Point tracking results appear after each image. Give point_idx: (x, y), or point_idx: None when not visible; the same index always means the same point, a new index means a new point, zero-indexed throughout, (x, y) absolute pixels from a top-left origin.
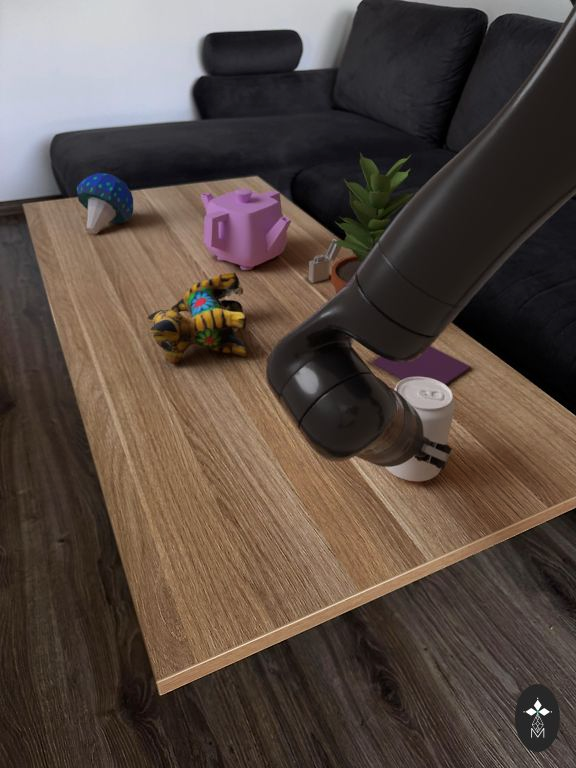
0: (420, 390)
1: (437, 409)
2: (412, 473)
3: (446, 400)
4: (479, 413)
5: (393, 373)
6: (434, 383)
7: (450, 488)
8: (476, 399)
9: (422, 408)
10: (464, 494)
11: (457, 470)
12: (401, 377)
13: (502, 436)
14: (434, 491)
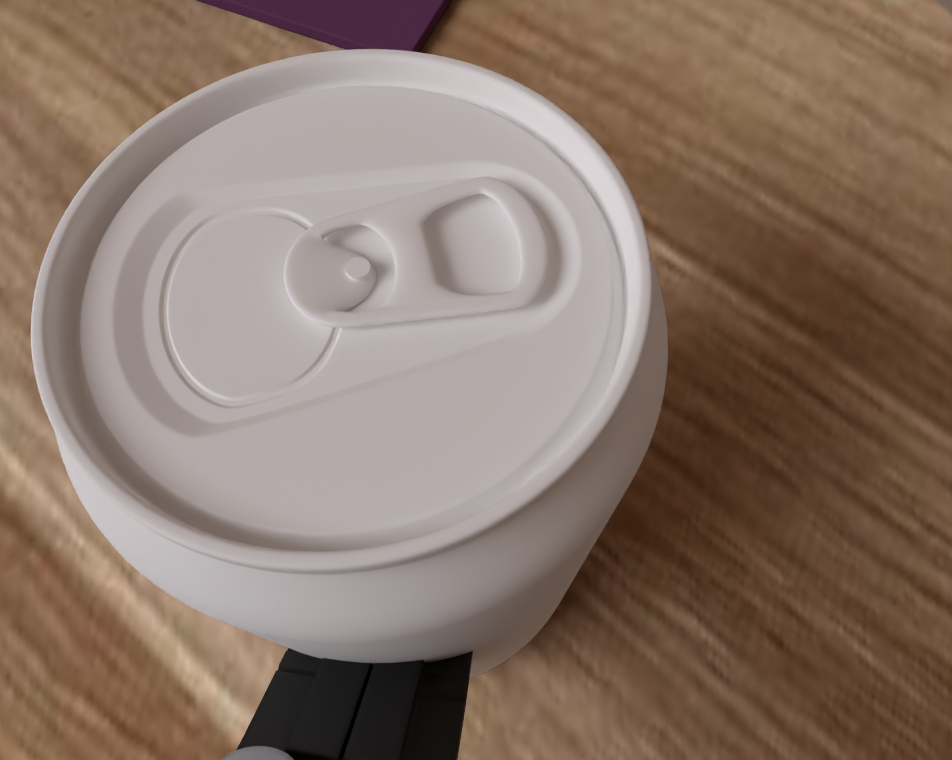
0: (307, 241)
1: (552, 485)
2: None
3: (593, 285)
4: (627, 92)
5: (227, 3)
6: (418, 93)
7: (649, 597)
8: (592, 25)
9: (382, 566)
10: (722, 609)
11: (643, 461)
12: (264, 14)
13: (755, 182)
14: (583, 654)
